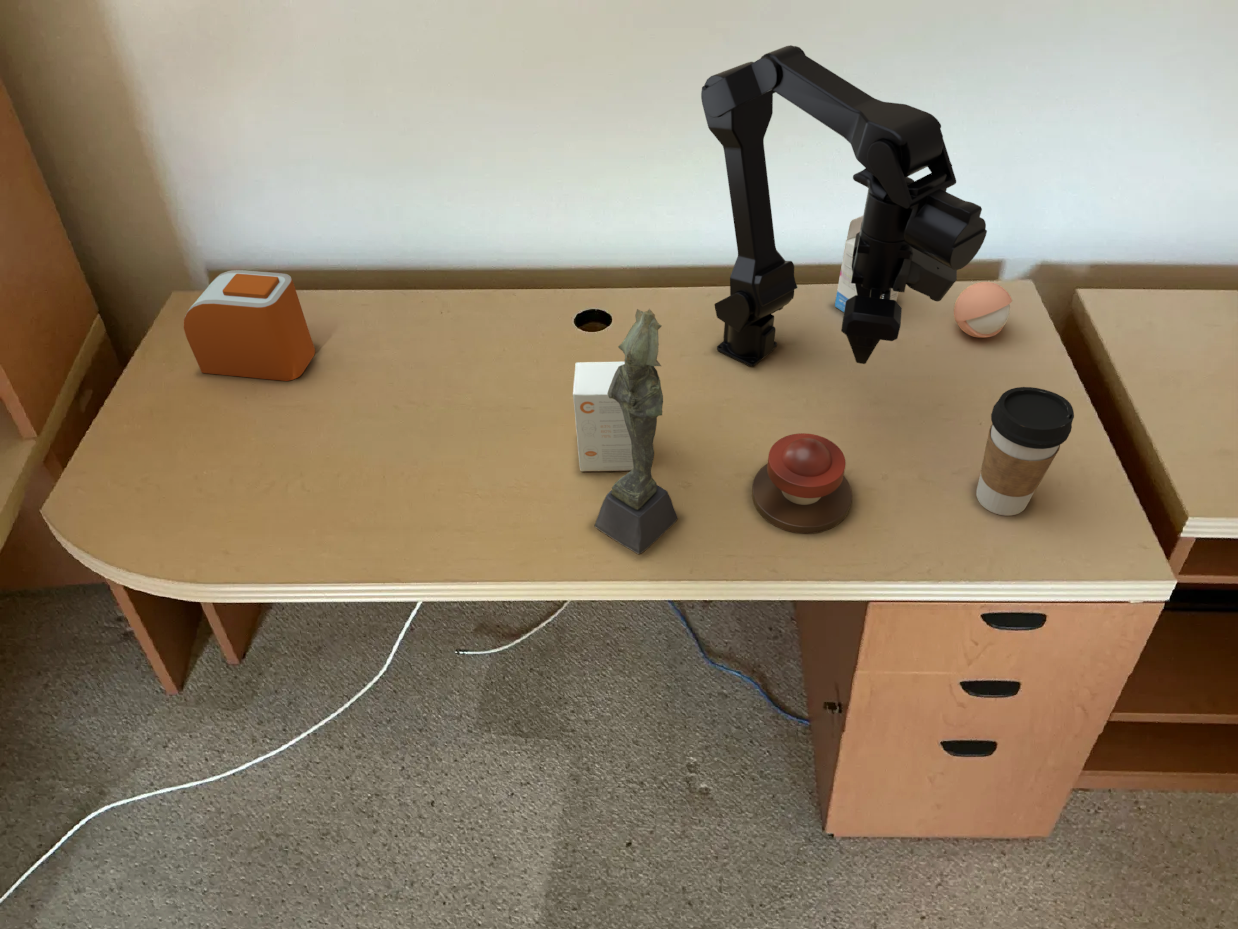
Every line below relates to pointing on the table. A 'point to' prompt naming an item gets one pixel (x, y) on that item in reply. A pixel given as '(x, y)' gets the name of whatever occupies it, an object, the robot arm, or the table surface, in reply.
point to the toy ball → (982, 309)
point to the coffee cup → (1021, 447)
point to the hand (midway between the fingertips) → (863, 339)
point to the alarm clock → (250, 327)
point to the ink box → (850, 268)
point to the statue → (638, 444)
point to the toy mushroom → (803, 485)
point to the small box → (599, 420)
